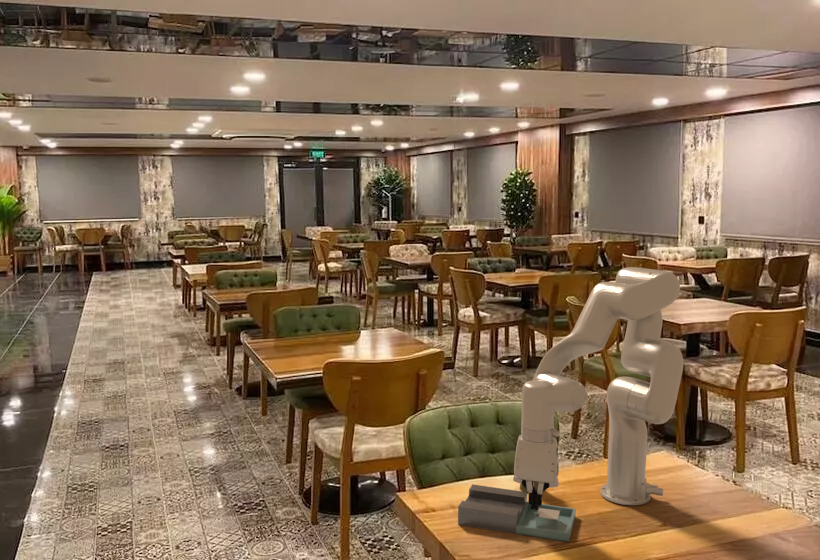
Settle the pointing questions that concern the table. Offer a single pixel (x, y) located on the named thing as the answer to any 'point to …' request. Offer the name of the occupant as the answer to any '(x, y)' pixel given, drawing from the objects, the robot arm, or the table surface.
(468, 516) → the slotted ledge
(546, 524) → the tan square block
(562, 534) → the tray
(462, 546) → the table surface
